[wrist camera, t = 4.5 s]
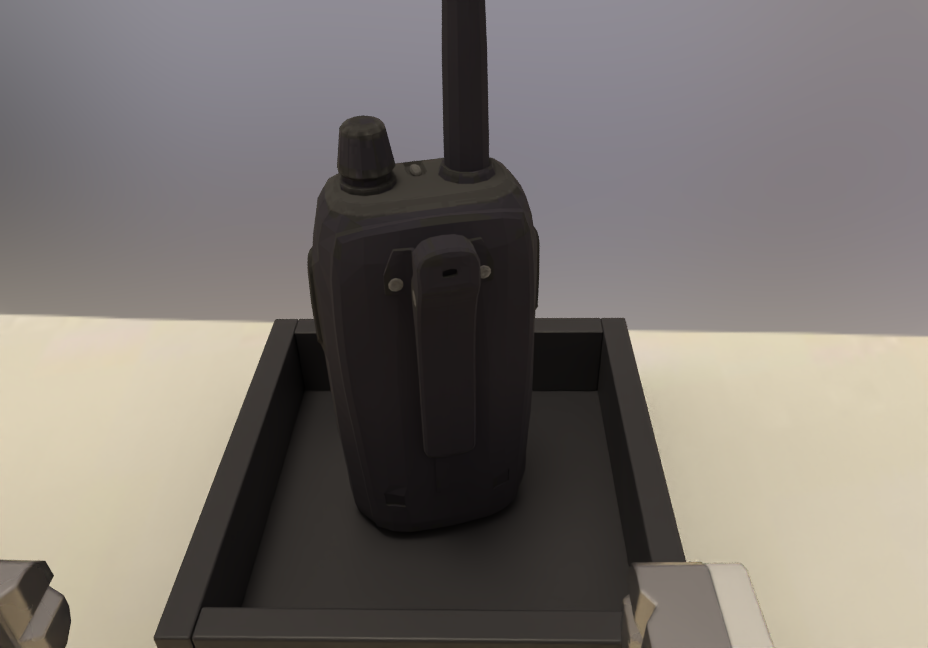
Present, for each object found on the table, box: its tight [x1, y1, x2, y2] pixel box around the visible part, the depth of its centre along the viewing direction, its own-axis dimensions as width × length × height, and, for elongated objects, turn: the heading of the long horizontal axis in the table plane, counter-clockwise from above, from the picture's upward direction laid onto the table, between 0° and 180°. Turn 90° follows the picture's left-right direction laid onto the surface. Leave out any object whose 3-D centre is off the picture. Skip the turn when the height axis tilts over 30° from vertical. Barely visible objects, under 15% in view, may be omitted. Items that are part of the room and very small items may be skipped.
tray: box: [154, 318, 686, 648], centre depth 22 cm, size 12×12×3 cm
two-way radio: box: [308, 0, 539, 532], centre depth 18 cm, size 6×4×15 cm
